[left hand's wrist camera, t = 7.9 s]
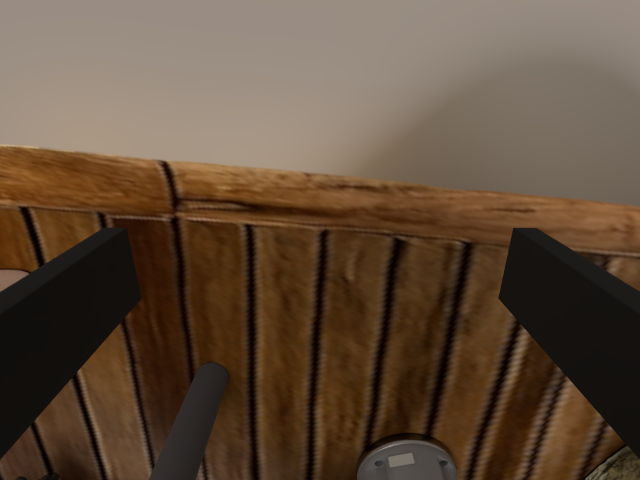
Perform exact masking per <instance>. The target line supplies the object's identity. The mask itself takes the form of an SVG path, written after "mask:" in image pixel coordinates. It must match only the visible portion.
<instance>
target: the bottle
mask: <svg viewBox="0 0 640 480" xmlns="http://www.w3.org/2000/svg"><path fill="white" fill-rule="evenodd" d="M227 381H228V372H227V371H226V369H225V368H224V367H223V366H221V365H219V364H216V363H206V364H203V365H202V366H200V367H199V368H198V370H197V372H196V375H195V377H194V379H193V381H192V384H191V386H190V388H189V390H188V393H187V395H186V397H185V399H184V402H183V404H182V406H181V408H180V411H179V413H178V415H177V417H176V420H175V422H174V424H173V426H172V429H171V431H170V433H169V435H168V438H167V440H166V442H165V444H164V447H163V449H162V451H161V453H160V456H159V458H158V460H157V462H156V465H155V467H154V469H153V471H152V474H151V476H150V478H149V480H196V477H197V474H198V471H199V468H200V464H201V461H202V458H203V455H204V452H205V449H206V446H207V443H208V440H209V437H210V434H211V430H212V427H213V424H214V421H215V418H216V415H217V412H218V409H219V406H220V403H221V400H222V396H223V393H224V390H225V387H226V384H227Z"/></svg>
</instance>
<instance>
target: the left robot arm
mask: <svg viewBox="0 0 640 480" xmlns="http://www.w3.org/2000/svg"><path fill="white" fill-rule="evenodd" d="M140 300H141V293H140V289H139V284H138V279H137V275H136V270H135V265H134V261H133V256H132V251H131V247H130V242H129V237H128V233H127V228H103V229H101V230H100V231H98V232H96V233H95V234H93V235H92V236H90V237H88V238H87V239H85V240H83V241H82V242H80V243H79V244H77V245H75V246H74V247H72V248H70V249H69V250H67V251H66V252H64V253H62V254H61V255H59V256H57V257H56V258H54V259H53V260H51V261H49V262H48V263H46V264H44V265H43V266H41V267H40V268H38V269H36V270H35V271H33V272H32V273H30V274H28V275H27V276H25V277H23V278H22V279H20V280H19V281H17V282H15V283H14V284H12V285H10V286H9V287H7V288H6V289H4V290H2V291H1V292H0V459H1V458H2V457H3V456H4V455H5V454H6V452H7V451H8V450H9V449H10V448H11V447H12V446H13V444H14V443H15V442H16V441H17V440H18V439H19V438H20V436H21V435H22V434H23V433H24V432H25V431H26V430H27V429H28V427H29V426H30V425H31V424H32V423H33V422H34V421H35V419H36V418H37V417H38V416H39V415H40V414H41V413H42V411H43V410H44V409H45V408H46V407H47V406H48V405H49V403H50V402H51V401H52V400H53V399H54V398H55V397H56V395H57V394H58V393H59V392H60V391H61V390H62V389H63V387H64V386H65V385H66V384H67V383H68V382H69V381H70V379H71V378H72V377H73V376H74V375H75V374H76V373H77V371H78V370H79V369H80V368H81V367H82V366H83V365H84V363H85V362H86V361H87V360H88V359H89V358H90V357H91V355H92V354H93V353H94V352H95V351H96V350H97V349H98V347H99V346H100V345H101V344H102V343H103V342H104V341H105V340H106V338H107V337H108V336H109V335H110V334H111V333H112V332H113V330H114V329H115V328H116V327H117V326H118V325H119V324H120V322H121V321H122V320H123V319H124V318H125V317H126V316H127V314H128V313H129V312H130V311H131V310H132V309H133V308H134V306H135V305H136V304H137V303H138V302H139V301H140ZM499 300H500V301H501V302H502V303H503V304H504V305H505V306H506V308H507V309H508V310H509V311H510V312H511V313H512V314H513V316H514V317H515V318H516V319H517V320H518V321H519V322H520V324H521V325H522V326H523V327H524V328H525V329H526V330H527V332H528V333H529V334H530V335H531V336H532V337H533V338H534V340H535V341H536V342H537V343H538V344H539V345H540V346H541V347H542V349H543V350H544V351H545V352H546V353H547V354H548V355H549V357H550V358H551V359H552V360H553V361H554V362H555V363H556V365H557V366H558V367H559V368H560V369H561V370H562V371H563V373H564V374H565V375H566V376H567V377H568V378H569V379H570V381H571V382H572V383H573V384H574V385H575V386H576V387H577V389H578V390H579V391H580V392H581V393H582V394H583V395H584V397H585V398H586V399H587V400H588V401H589V402H590V403H591V405H592V406H593V407H594V408H595V409H596V410H597V411H598V413H599V414H600V415H601V416H602V417H603V418H604V419H605V421H606V422H607V423H608V424H609V425H610V426H611V427H612V429H613V430H614V431H615V432H616V433H617V434H618V435H619V436H620V438H621V439H622V440H623V441H624V442H625V443H626V444H627V446H628V447H629V448H630V449H631V450H632V451H633V452H634V454H635V455H636V456H637V457H638V458H639V459H640V292H639V291H638V290H636V289H634V288H633V287H631V286H630V285H628V284H626V283H625V282H623V281H621V280H620V279H618V278H617V277H615V276H613V275H612V274H610V273H608V272H607V271H605V270H604V269H602V268H600V267H599V266H597V265H596V264H594V263H592V262H591V261H589V260H587V259H586V258H584V257H583V256H581V255H579V254H578V253H576V252H574V251H573V250H571V249H570V248H568V247H566V246H565V245H563V244H561V243H560V242H558V241H557V240H555V239H553V238H552V237H550V236H548V235H547V234H545V233H544V232H542V231H540V230H539V229H537V228H513V233H512V237H511V242H510V247H509V251H508V256H507V261H506V265H505V270H504V275H503V279H502V284H501V289H500V293H499ZM356 474H357V480H458V476H457V469H456V466H455V463H454V460H453V458H452V455H451V453H450V452H449V450H448V449H447V448H446V447H445V446H444V445H443V444H442V443H440V442H439V441H437V440H435V439H433V438H430V437H427V436H423V435H416V434H402V435H395V436H391V437H388V438H385V439H382V440H380V441H378V442H376V443H374V444H373V445H371V446H370V447H369V448H368V449H366V450H365V452H364V453H363V454H362V455H361V457H360V458H359V460H358V463H357V468H356Z"/></svg>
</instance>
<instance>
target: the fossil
mask: <svg viewBox="0 0 640 480" xmlns="http://www.w3.org/2000/svg"><path fill="white" fill-rule="evenodd" d="M585 480H640V459H639V458H638V457H637V456H636V455H635V454H634V452H633V451H632V450H631V449H630V448H629V447H628V446H626V447H625V448H623V449H622V450H620V451H619V452H617V453H616V454H615V455H613V456H612V457H610V458H609V459H607V461H606V462H605V463H603V464H602V465H600V466H599V467H597V468H596V469H595V470H594V471H593V472H592V473H591V474H590V475H589V476H588V477H587V478H586V479H585Z"/></svg>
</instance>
